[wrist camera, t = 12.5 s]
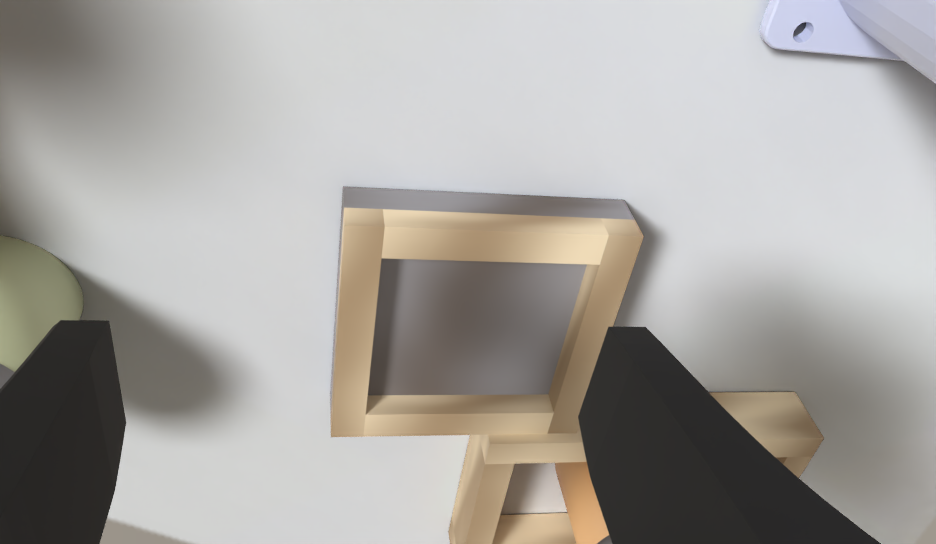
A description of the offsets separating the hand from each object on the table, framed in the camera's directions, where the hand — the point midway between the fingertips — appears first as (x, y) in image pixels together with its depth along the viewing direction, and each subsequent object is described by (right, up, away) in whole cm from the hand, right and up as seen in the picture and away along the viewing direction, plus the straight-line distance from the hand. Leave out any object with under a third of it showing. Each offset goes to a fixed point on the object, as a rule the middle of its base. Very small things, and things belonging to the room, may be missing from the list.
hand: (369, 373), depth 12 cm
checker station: (+5, -3, +16) cm, 17 cm away
